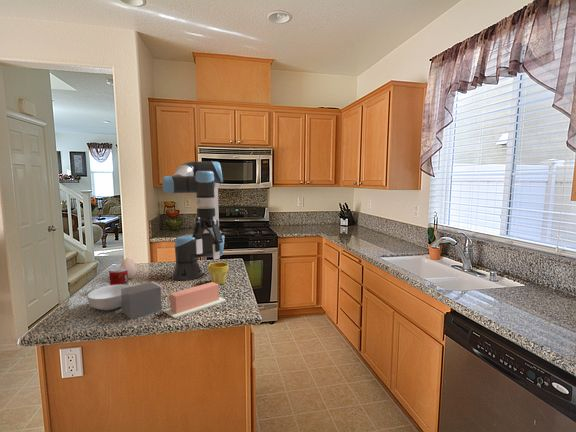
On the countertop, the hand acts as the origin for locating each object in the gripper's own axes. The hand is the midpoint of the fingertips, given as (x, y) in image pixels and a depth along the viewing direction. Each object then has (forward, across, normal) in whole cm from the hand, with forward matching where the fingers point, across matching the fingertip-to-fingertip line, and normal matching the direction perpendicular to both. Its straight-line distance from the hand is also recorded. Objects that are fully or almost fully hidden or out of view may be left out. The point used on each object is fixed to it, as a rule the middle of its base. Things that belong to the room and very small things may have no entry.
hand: (207, 256), depth 134 cm
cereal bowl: (+21, -26, -32) cm, 46 cm away
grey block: (+20, -11, -25) cm, 34 cm away
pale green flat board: (+20, 0, -7) cm, 22 cm away
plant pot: (+21, -19, +17) cm, 33 cm away
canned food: (+21, -44, -23) cm, 54 cm away
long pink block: (+20, 0, -7) cm, 21 cm away
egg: (+21, -61, -13) cm, 66 cm away
